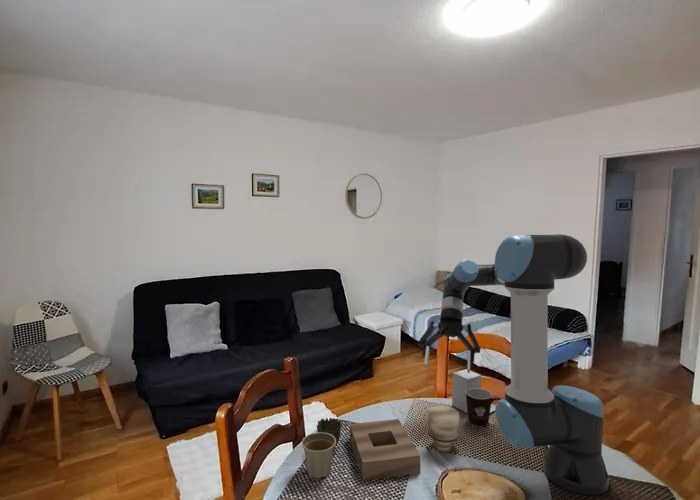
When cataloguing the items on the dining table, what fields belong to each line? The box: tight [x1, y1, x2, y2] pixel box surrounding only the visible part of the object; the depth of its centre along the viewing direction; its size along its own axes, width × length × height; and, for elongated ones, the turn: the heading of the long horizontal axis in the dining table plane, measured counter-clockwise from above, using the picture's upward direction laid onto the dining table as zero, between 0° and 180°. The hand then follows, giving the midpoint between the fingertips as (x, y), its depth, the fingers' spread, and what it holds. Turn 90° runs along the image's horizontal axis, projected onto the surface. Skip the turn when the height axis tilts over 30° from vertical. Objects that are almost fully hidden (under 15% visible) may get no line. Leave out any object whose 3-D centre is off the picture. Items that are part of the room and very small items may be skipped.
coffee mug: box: [466, 388, 502, 427], centre depth 131 cm, size 12×9×10 cm
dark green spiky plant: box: [316, 417, 342, 451], centre depth 117 cm, size 8×7×8 cm
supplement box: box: [451, 369, 482, 414], centre depth 143 cm, size 7×7×13 cm
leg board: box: [349, 418, 421, 481], centre depth 114 cm, size 20×16×5 cm
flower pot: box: [301, 432, 337, 479], centre depth 107 cm, size 9×9×9 cm
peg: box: [427, 405, 460, 453], centre depth 117 cm, size 9×9×11 cm
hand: (446, 368), depth 126 cm, fingers open, 13 cm apart
